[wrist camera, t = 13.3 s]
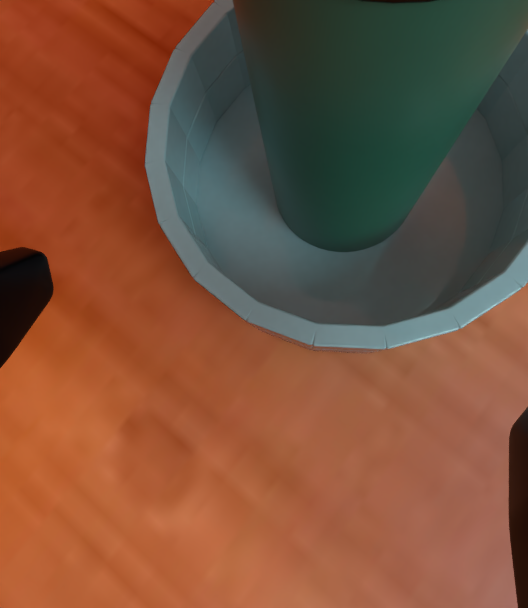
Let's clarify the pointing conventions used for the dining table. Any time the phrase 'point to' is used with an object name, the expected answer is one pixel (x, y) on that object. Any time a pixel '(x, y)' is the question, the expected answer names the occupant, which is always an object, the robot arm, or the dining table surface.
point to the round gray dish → (318, 262)
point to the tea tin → (367, 102)
